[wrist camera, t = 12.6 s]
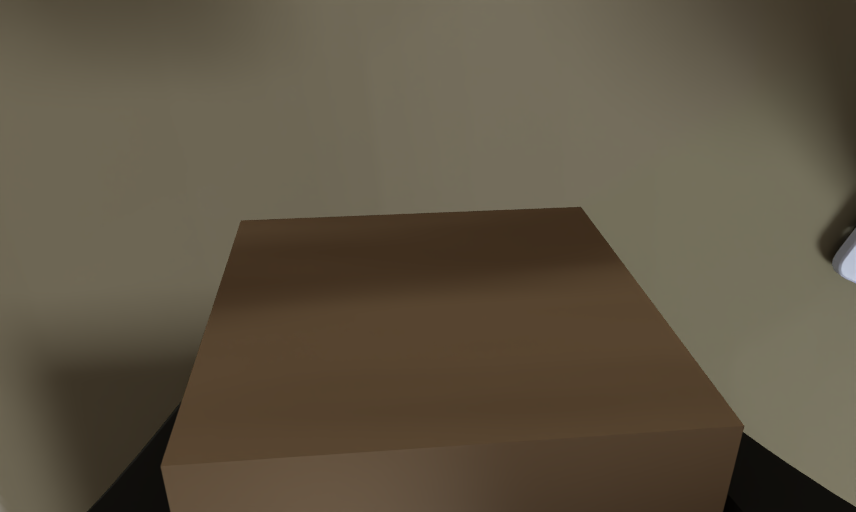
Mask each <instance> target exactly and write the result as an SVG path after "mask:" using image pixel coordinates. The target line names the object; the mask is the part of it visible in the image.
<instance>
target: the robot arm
mask: <svg viewBox="0 0 856 512" xmlns="http://www.w3.org/2000/svg"><path fill="white" fill-rule="evenodd" d="M832 266H833V269H834V270H835V271H836V272H837V273H838V274H840V275H841V276H842V277H844V278H845V279H847V280H850V281H852V282H854V283H856V228H855V229H854V230H853V232H852V233H851V234H850V236H849V237H848V238H847V240H846V241H845V242H844V244H843V245H842V246H841V247H840V249H839V250H838V251H837V253H836V254H835V256H834V258H833V262H832ZM181 402H182V401H181ZM181 402H180V404H179V405H178V406H177V407H176V409H175V410H174V411H173V412H172V414H171V415H170V416H169V417H168V419H167V420H166V421H165V422H164V424H163V425H162V426H161V427H160V429H159V430H158V431H157V432H156V434H155V435H154V436H153V437H152V438H151V440H150V441H149V442H148V443H147V445H146V446H145V447H144V448H143V449H142V451H141V452H140V453H139V454H138V455H137V456H136V458H135V459H134V460H133V461H132V462H131V463H130V464H129V466H128V467H127V468H126V469H125V470H124V471H123V473H122V474H121V475H120V476H119V477H118V478H117V480H116V481H115V482H114V483H113V484H112V485H111V486H110V488H109V489H108V490H107V491H106V492H105V493H104V494H103V495H102V497H101V498H100V499H99V500H98V501H97V502H96V503H95V504H94V505H93V506H92V507H91V508H90V509H89V510H88V511H87V512H170V507H169V502H168V498H167V493H166V489H165V484H164V480H163V475H162V471H161V463H162V460H163V457H164V454H165V451H166V448H167V445H168V442H169V439H170V436H171V433H172V430H173V427H174V424H175V421H176V418H177V414H178V411H179V408H180V405H181ZM723 512H856V507H855V506H853V505H852V504H850V503H848V502H847V501H845V500H843V499H842V498H840V497H838V496H837V495H835V494H834V493H832V492H831V491H829V490H827V489H826V488H824V487H823V486H821V485H820V484H818V483H817V482H815V481H814V480H812V479H811V478H809V477H808V476H806V475H805V474H803V473H801V472H800V471H798V470H797V469H795V468H794V467H792V466H791V465H789V464H788V463H786V462H785V461H783V460H782V459H780V458H779V457H778V456H776V455H775V454H773V453H772V452H770V451H769V450H767V449H766V448H765V447H763V446H762V445H760V444H759V443H758V442H756V441H755V440H753V439H752V438H751V437H749V436H748V435H746V434H745V433H744V432H743V433H742V437H741V441H740V445H739V449H738V453H737V457H736V461H735V465H734V469H733V473H732V477H731V481H730V485H729V489H728V493H727V497H726V501H725V505H724V509H723Z"/></svg>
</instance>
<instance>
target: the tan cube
mask: <svg viewBox="0 0 856 512" xmlns="http://www.w3.org/2000/svg"><path fill="white" fill-rule="evenodd" d="M743 429H744V425H743V424H742V422H741V421H740V420H739V418H738V417H737V416H736V414H735V413H734V411H733V410H732V409H731V407H730V406H729V405H728V403H727V402H726V401H725V399H724V398H723V397H722V395H721V394H720V393H719V391H718V390H717V389H716V387H715V386H714V385H713V383H712V382H711V381H710V379H709V378H708V377H707V375H706V374H705V373H704V371H703V370H702V369H701V367H700V366H699V365H698V363H697V362H696V361H695V359H694V358H693V357H692V355H691V354H690V353H689V351H688V350H687V349H686V347H685V346H684V345H683V343H682V342H681V340H680V339H679V338H678V336H677V335H676V334H675V332H674V331H673V330H672V328H671V327H670V326H669V324H668V323H667V322H666V320H665V319H664V318H663V316H662V315H661V314H660V312H659V311H658V310H657V308H656V307H655V306H654V304H653V303H652V302H651V300H650V299H649V298H648V296H647V295H646V294H645V292H644V291H643V290H642V288H641V287H640V286H639V284H638V283H637V282H636V280H635V279H634V278H633V276H632V275H631V274H630V272H629V271H628V270H627V268H626V267H625V265H624V264H623V263H622V261H621V260H620V259H619V257H618V256H617V255H616V253H615V252H614V251H613V249H612V248H611V247H610V245H609V244H608V243H607V241H606V240H605V239H604V237H603V236H602V235H601V233H600V232H599V231H598V229H597V228H596V227H595V225H594V224H593V223H592V221H591V220H590V219H589V217H588V216H587V215H586V213H585V212H584V211H583V209H582V208H581V207H568V208H543V209H518V210H493V211H468V212H443V213H419V214H394V215H369V216H344V217H319V218H294V219H269V220H244V221H241V222H240V225H239V228H238V231H237V234H236V237H235V240H234V243H233V247H232V250H231V253H230V256H229V259H228V262H227V265H226V268H225V271H224V274H223V277H222V280H221V283H220V286H219V289H218V292H217V295H216V298H215V301H214V305H213V308H212V311H211V314H210V317H209V320H208V323H207V326H206V329H205V332H204V335H203V338H202V341H201V344H200V347H199V350H198V353H197V356H196V360H195V363H194V366H193V369H192V372H191V375H190V378H189V381H188V384H187V387H186V390H185V393H184V396H183V399H182V402H181V405H180V408H179V411H178V414H177V418H176V421H175V424H174V427H173V430H172V433H171V436H170V439H169V442H168V445H167V448H166V451H165V454H164V457H163V460H162V463H161V471H162V475H163V480H164V484H165V489H166V493H167V498H168V502H169V507H170V512H723V509H724V505H725V501H726V497H727V493H728V489H729V485H730V481H731V477H732V473H733V469H734V465H735V461H736V457H737V453H738V449H739V445H740V441H741V437H742V433H743Z"/></svg>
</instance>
